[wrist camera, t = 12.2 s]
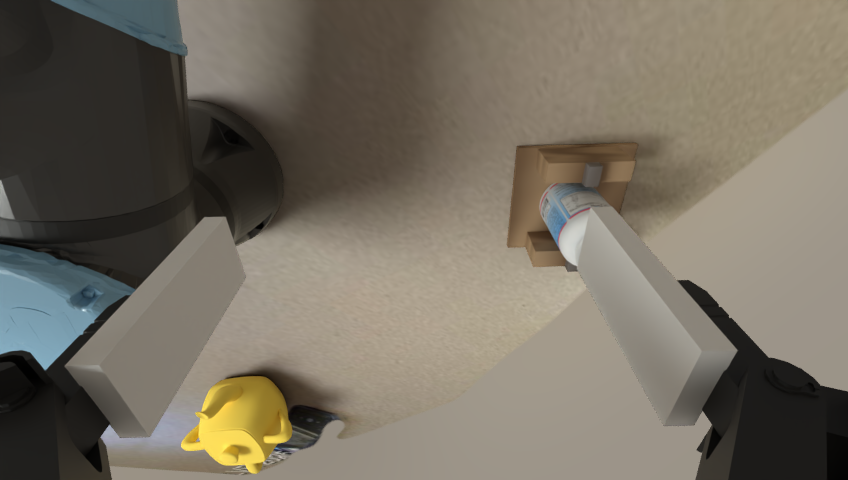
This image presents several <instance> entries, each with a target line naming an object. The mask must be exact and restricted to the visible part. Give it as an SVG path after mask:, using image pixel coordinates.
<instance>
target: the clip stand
mask: <svg viewBox="0 0 848 480" xmlns="http://www.w3.org/2000/svg"><path fill="white" fill-rule="evenodd" d="M637 147H638V144H636V143H611V144H577V145H544V146H517V150H516V160H515V170H514V180H513V190H512V200H511V210H510V219H509V229H508V239H507V246H508V248H510V247H526V250H527V252H528V255H529V257H530V260H531V262H532V265H533V267H545V266H565V267H566V269H567V271H568V272H572V271H578V270H577V266H575V265H573V264H571V263H570V262H569V261H567V260H566V259H565V257H564V256H563V254H562V253H561V251H560V249H559V247H558V246H557V244H556V242H555V240H554V238H553V236H552V235H551V233H550V231H549V229H548V227H547V225H546V224H545V222H544V220H543V218H542V216H541V213H540V208H539V205H540V200H541V197H542V195H543V193H544V192H545V190H546V189H547V188H548V187H549V186H550V185H551V184H553V183H582V184H583V185H584V186H585V187H594V188H595V189H596V190H597V191H598V193H599V194H600V195H601V196H602V197H603V198H604V199H605V200H606V201H607V203H608V204H609V205H610V206H612V207H613V208H614V209H615V210H616V211H617V212H618V214H620V210H621V206H622V203H623V199H624V195H625V191H626V188H627V184H628V181H631V178H632V174H633V170H634V167H635V163H636V161H635V160H634V158H635V155H636V151H637Z"/></svg>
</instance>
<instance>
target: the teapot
mask: <svg viewBox="0 0 848 480" xmlns="http://www.w3.org/2000/svg"><path fill="white" fill-rule="evenodd" d="M195 414H196V415H197V416H198V417H199V418H200V424H199V425H197V426H196V427H195V428H194V429H193V430H191V431H190V432H189V433H188V434H187V436H186V437H185V438H184V439H183V441H182V443H181V447H182V448H183V449H184V450H187V451H196V450H202V449H205V450H206V451H207V452H208V453H209V455H210V456H211V457H212V458H214V459H215V460H216V461H217V462H219V463H220V464H223V465H246V467H247V469H248V470H249V472H251V473H253V474H256V473H259V472H260V470H261V468H262V464H263V461H265V460H266V459H267V458H268V457H269V455H270V454H271V452H272V451H273V450H274V448H275V447H276V445H277V444H278V443H283V442H286V441H288V440H289V439H290V438H291V436H292V426H291V423H290V421H289V420H288V410H287V406H286V402H285V399H284V397H283V395H282V393H281V392H280V390H279V389H278V388H277V386H276V385H275V384H274V383H273V382H272V381H271V380H269V379H268V378H266V377H263V376H248V377H237V378H230V379H225V380H221V381H219V382H218V383H217V384H215V385H214V386H213V387H212V388H211V389H210V390H209V392H208V394H207V396H206V399H205V401H204V404H203V407H202V411H201V412H196V413H195ZM198 437H199V439H200V441H199V442H195V441H196V440H197V439H198Z"/></svg>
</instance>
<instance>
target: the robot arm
mask: <svg viewBox="0 0 848 480" xmlns="http://www.w3.org/2000/svg"><path fill="white" fill-rule="evenodd" d="M185 56H187V47H186V45H185V44H184V43H183V39H182V33H181V26H180V20H179V13H178V6H177V0H0V480H112V478H111V472H110V467H109V461H108V455H107V449H106V445H105V444H104V442H103V440H102V439H101V438H100V437H101V435H102V434H103V433H104V431H105V430H106V428H107V427H108V426H109V424H110V425H111V427H112V428H113V429H114V431H115V432H116V433H117V434H118V436H119V437H120V438H135V437H150V436H151V434H152V433H153V431H154V429H155V428H156V426H157V424H158V423H159V421H160V419H161V418H162V416H163V414H164V413H165V411H166V409H167V408H168V406H169V404H170V403H171V401H172V399H173V398H174V396H175V394H176V393H177V391H178V389H179V388H180V386H181V384H182V383H183V381H184V379H185V378H186V376H187V374H188V373H189V371H190V369H191V368H192V366H193V364H194V363H195V361H196V360H197V358H198V356H199V355H200V353H201V351H202V350H203V348H204V346H205V345H206V343H207V341H208V340H209V338H210V336H211V335H212V333H213V331H214V330H215V328H216V326H217V325H218V323H219V321H220V320H221V318H222V316H223V315H224V313H225V311H226V310H227V308H228V306H229V305H230V303H231V301H232V300H233V298H234V296H235V295H236V293H237V291H238V290H239V288H240V286H241V285H242V283H243V282H244V280H245V278H246V275H245V272H244V269H243V266H242V263H241V261H240V258H239V255H238V252H237V249H236V246H238V245H240V244H242V243H244V242H246V241H247V240H249V239H251V238H253V237H255V236H256V235H258V234H259V233H260V232H261V231H263V230H264V229H265V228H266V227H267V225H268V224H269V223H270V221H271V220H272V218H273V217H274V215H275V214H276V212H277V210H278V209H279V206H280V204H281V201H282V197H283V176H282V172H281V168H280V165H279V162H278V160H277V158H276V156H275V154H274V152H273V150H272V149H271V147H270V146H269V144H268V143H267V142H266V140H265V139H264V138H263V137H262V136H261V134H260V133H259V132H258V131H257V130H256V129H255V128H253V127H252V126H251V125H250V124H249V123H247V122H246V121H245V120H243V119H242V118H241V117H239V116H237V115H236V114H234V113H232V112H230V111H228V110H226V109H224V108H222V107H219V106H216V105H213V104H210V103H206V102H201V101H192V100H188V97H187V83H186V68H185ZM577 270H578V272H579V274H580V276H581V278H582V279H583V281H584V283H585V285H586V287H587V288H588V290H589V292H590V294H591V296H592V297H593V299H594V301H595V303H596V305H597V306H598V308H599V310H600V312H601V314H602V315H603V317H604V319H605V321H606V323H607V325H608V326H609V328H610V330H611V332H612V334H613V335H614V337H615V339H616V341H617V343H618V344H619V346H620V348H621V350H622V352H623V354H624V355H625V357H626V359H627V361H628V362H629V364H630V366H631V368H632V370H633V372H634V373H635V375H636V377H637V379H638V381H639V382H640V384H641V386H642V388H643V389H644V391H645V393H646V395H647V397H648V399H649V401H650V402H651V404H652V406H653V407H654V410H655V411H656V413H657V415H658V417H659V418H660V420H661V422H662V424H663V426H688V425H689V426H691V425H695V423H696V421H697V419H698V418H699V416H700V414H701V412H702V411H703V412H704V413H705V415H706V416H707V418H708V419H709V421H710V422H711V424H712V426H711V428H710V429H709V431H708V433H707V434H706V436H705V437H704V439H703V441H702V442H701V444H700V445H699V447H698V448H697V450H698V451H699V452H702V456H701V460H700V464H699V468H698V473H697V476H696V480H848V392H847V391H842V390H838V389H834V388H829V387H824V386H820V384H819V383H818V382H817V381H816V380H815V379H814V378H813V377H812V376H810V375H809V374H808V373H806V372H805V371H803V370H802V369H800V368H798V367H796V366H794V365H792V364H790V363H788V362H785V361H781V360H778V359H775V358H768V357H767V356H766V354H765V353H764V352H763V351H762V350H761V349H760V348H759V347H758V346H757V345H756V344H755V343H754V342H753V340H752V339H751V338H750V337H749V336H748V335H747V334H746V333H745V332H744V331H743V330H742V329H741V328H740V327H739V326H738V325H737V323H736V322H735V321H734V320H733V319H732V318H729V315H728V314H727V313H726V312H725V311H724V310H723V308H722V307H719V305H718V303H717V302H716V301H715V300H714V299H713V298H712V297H711V296H710V295H709V294H708V293H707V291H705V290H703V289H702V288H700V287H698V286H697V285H696V284H694V283H692V282H691V281H689V280H676V279H675V278H674V277H673V276H672V274H671V273H670V272H669V271H668V270H667V269H666V268H665V266H663V264H662V263H661V262H660V261H659V259H658V258H657V257H656V256H655V255H654V254H653V253H652V252H651V250H650V249H649V248H648V247H647V246H646V245H645V243H644V242H643V241H642V240H641V239H640V238H639V237H638V235H637V234H636V233H635V232H634V231H633V230H632V229H631V227H630V226H629V225H628V224H627V223H626V222H625V220H624V219H623V218H622V217H621V216H620V215H619V214H618V212H617V211H616V210H615V209H614V208H613V207H612V206H610V207H591V208H590V213H589V217H588V221H587V226H586V230H585V234H584V239H583V243H582V248H581V252H580V256H579V261H578V265H577Z"/></svg>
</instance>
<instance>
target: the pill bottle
mask: <svg viewBox="0 0 848 480" xmlns="http://www.w3.org/2000/svg"><path fill="white" fill-rule="evenodd" d="M591 207H610V205H609V204H608V203H607V201H606V200H605V199H604V198H603V197H602V196H601V195H600V194H599V193H598V191H597V190H596V189H595V188H594V187H585V186H584V185H583V184H582V183H553V184H551V185H550V186H549V187H548V188H547V189H546V190H545V192H544V193H543V195H542V197H541V200H540V205H539V208H540V213H541V216H542V218H543V220H544V222H545V224H546V225H547V227H548V229H549V231H550V233H551V235H552V236H553V238H554V240H555V242H556V244H557V246H558V247H559V249H560V251H561V253H562V254H563V256H564V257H565V259H566V260H567V261H569V262H570V263H571V264H573V265H575V266H577V265H578V261H579V256H580V252H581V248H582V243H583V239H584V234H585V230H586V226H587V221H588V217H589V213H590V208H591Z"/></svg>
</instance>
